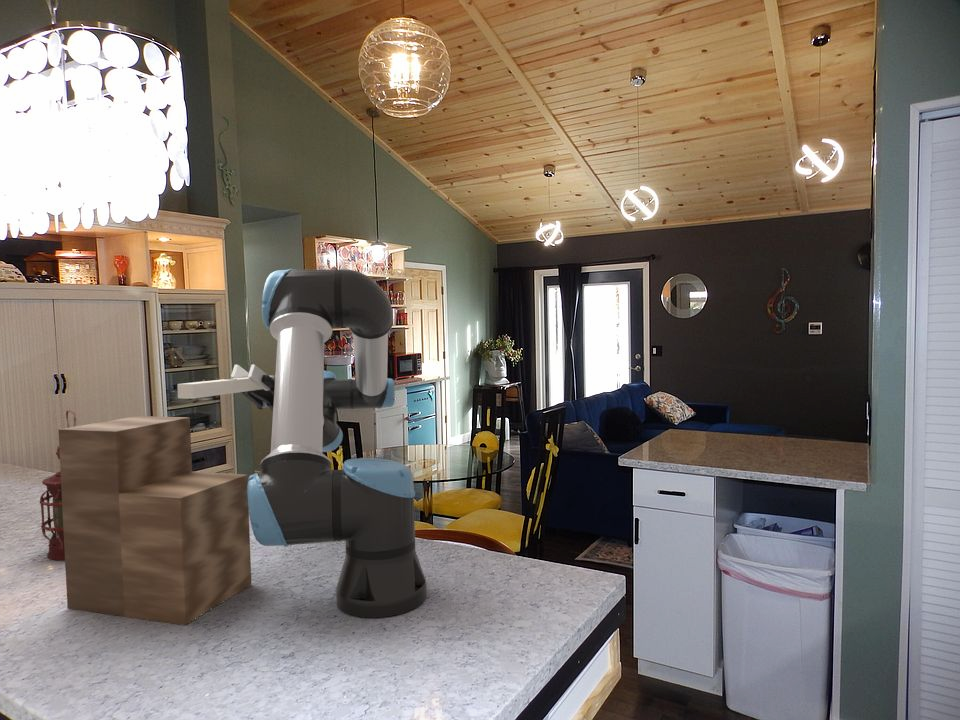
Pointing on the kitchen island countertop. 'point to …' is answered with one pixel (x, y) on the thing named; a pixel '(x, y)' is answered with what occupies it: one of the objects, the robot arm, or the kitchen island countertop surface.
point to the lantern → (54, 510)
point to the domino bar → (216, 387)
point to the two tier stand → (149, 522)
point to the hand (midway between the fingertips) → (242, 370)
